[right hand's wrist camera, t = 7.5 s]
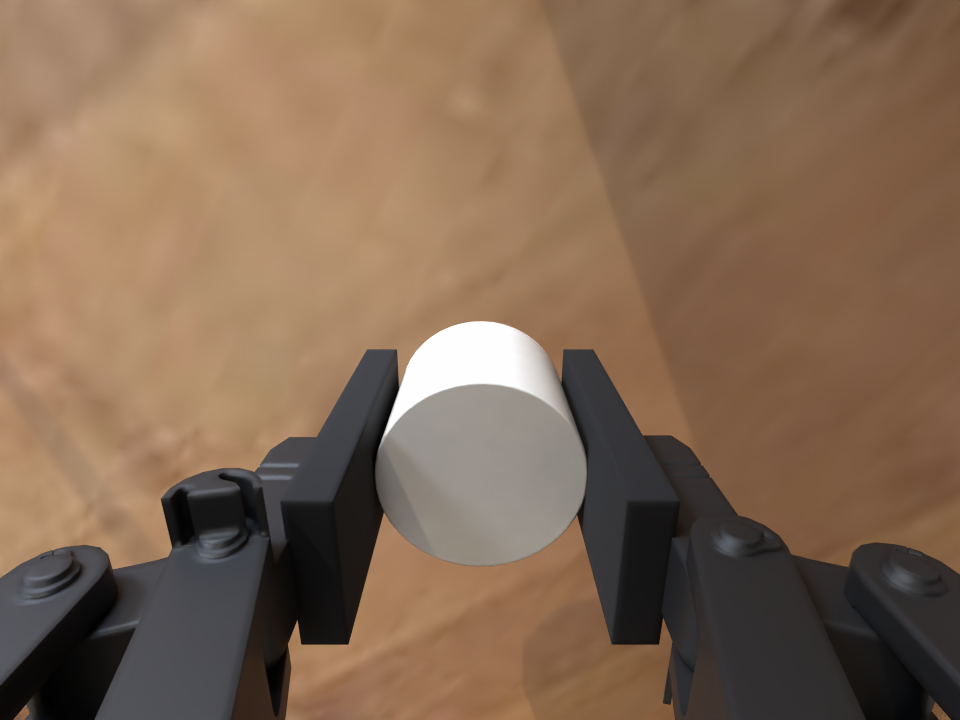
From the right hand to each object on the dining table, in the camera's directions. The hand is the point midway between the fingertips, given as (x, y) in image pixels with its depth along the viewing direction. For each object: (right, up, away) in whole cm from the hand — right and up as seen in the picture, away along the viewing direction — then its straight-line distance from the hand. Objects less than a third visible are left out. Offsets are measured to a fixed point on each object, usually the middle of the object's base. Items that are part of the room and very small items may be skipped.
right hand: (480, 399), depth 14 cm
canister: (0, 0, 0) cm, 0 cm away
